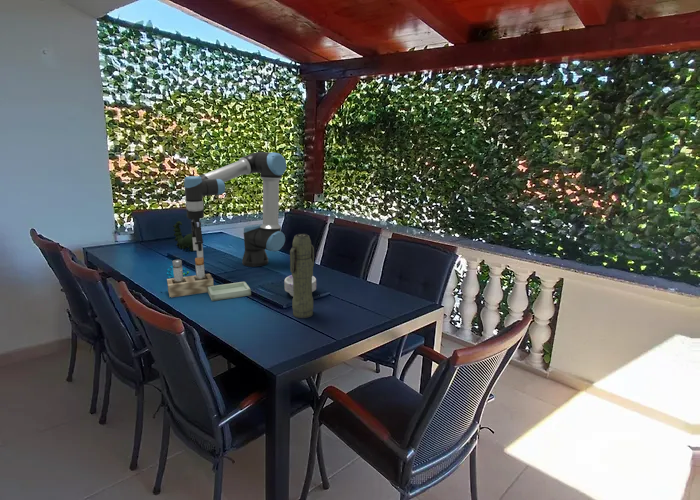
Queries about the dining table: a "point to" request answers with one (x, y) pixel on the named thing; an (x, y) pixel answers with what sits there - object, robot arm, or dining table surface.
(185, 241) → the toy figurine
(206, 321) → the dining table surface
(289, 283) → the paper bowls
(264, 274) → the dining table surface
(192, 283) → the block
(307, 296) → the thermos
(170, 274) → the teal spiky toy
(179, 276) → the grey capped shaker
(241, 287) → the tray
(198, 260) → the hitch pin
